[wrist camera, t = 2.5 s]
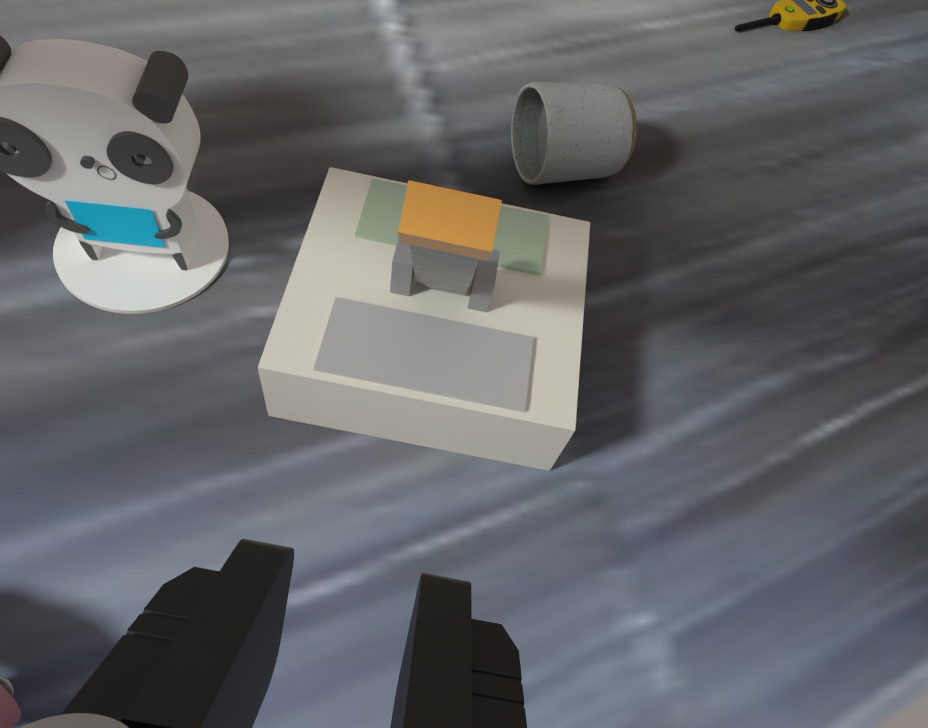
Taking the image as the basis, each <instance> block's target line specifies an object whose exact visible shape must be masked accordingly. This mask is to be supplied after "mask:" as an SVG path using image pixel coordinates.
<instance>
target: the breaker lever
mask: <svg viewBox="0 0 928 728" xmlns="http://www.w3.org/2000/svg"><path fill="white" fill-rule="evenodd" d="M501 203H502V200H499V199H495V198H490V197H485V196H480V195H476V194H471V193H466V192H462V191H457V190H452V189H447V188H443V187H438V186H433V185H428V184H424V183H419V182H414V181H410V180H408V185H407V190H406V194H405V199H404V204H403V209H402V214H401V219H400V224H399V229H398V235H399V239H400V243H405V244H409V245H410V251H411V257H412V262H413V268H414V274H415V280H416V285H418V286H423V287H428V288H433V289H438V290H442V291H447V292H452V293H457V294H462V295H465V294H466V292H467V289H468V287H469V284H470V281H471V279H472V276H473V274H474V271H475V269H476V266H477V264H478V261H479V259H482V260H487V261H488V259H489V256H490V254H491V252H492V248H493V243H494V238H495V233H496V228H497V223H498V218H499V213H500V208H501Z"/></svg>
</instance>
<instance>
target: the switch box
mask: <svg viewBox="0 0 928 728" xmlns="http://www.w3.org/2000/svg"><path fill="white" fill-rule="evenodd" d="M407 185H408V183H403V182H398V181H393V180H389V179H384V178H379V177H375V176H370V175H365V174H360V173H356V172H351V171H346V170H341V169H337V168H332V167H330V168H329V170H328V173H327V176H326V179H325V181H324V184H323V187H322V190H321V193H320V195H319V198H318V201H317V204H316V207H315V209H314V212H313V215H312V218H311V220H310V223H309V226H308V229H307V232H306V234H305V237H304V240H303V243H302V246H301V248H300V251H299V254H298V257H297V259H296V262H295V265H294V268H293V271H292V273H291V276H290V279H289V282H288V285H287V287H286V290H285V293H284V296H283V298H282V301H281V304H280V307H279V310H278V312H277V315H276V318H275V321H274V324H273V326H272V329H271V332H270V335H269V337H268V340H267V343H266V346H265V349H264V351H263V354H262V357H261V360H260V363H259V365H258V371H259V375H260V380H261V384H262V389H263V393H264V398H265V402H266V406H267V411H268V415H269V416H272V417H277V418H282V419H287V420H292V421H298V422H303V423H308V424H313V425H318V426H323V427H328V428H333V429H338V430H343V431H348V432H354V433H359V434H364V435H369V436H374V437H379V438H384V439H389V440H394V441H399V442H404V443H410V444H415V445H420V446H425V447H430V448H435V449H440V450H445V451H450V452H455V453H461V454H466V455H471V456H476V457H481V458H486V459H491V460H496V461H501V462H506V463H511V464H517V465H522V466H527V467H532V468H537V469H542V470H547V471H550V469H551V468H552V466H553V465H554V463H555V461H556V460H557V458H558V457H559V455H560V454H561V452H562V451H563V449H564V447H565V446H566V444H567V443H568V441H569V440H570V438H571V436H572V435H573V433H574V432H575V427H576V413H577V399H578V385H579V371H580V357H581V344H582V330H583V316H584V302H585V288H586V274H587V260H588V247H589V233H590V222H587V221H582V220H578V219H573V218H568V217H564V216H559V215H554V214H549V213H545V212H540V211H535V210H530V209H526V208H521V207H516V206H512V205H507V204H502V203H501V208H500V213H499V218H498V223H497V228H496V233H495V238H494V243H493V248H492V252H491V254H490V256H489V259H488V261H487V260H482V259H479V261H478V264H477V266H476V269H475V271H474V274H473V276H472V279H471V281H470V284H469V287H468V289H467V292H466V294H465V295H462V294H457V293H452V292H447V291H442V290H438V289H433V288H428V287H423V286H418V285H416V280H415V274H414V268H413V262H412V257H411V251H410V245H409V244H405V243H400V239H399V235H398V229H399V224H400V219H401V214H402V209H403V204H404V199H405V194H406V190H407Z"/></svg>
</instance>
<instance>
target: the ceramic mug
mask: <svg viewBox="0 0 928 728" xmlns="http://www.w3.org/2000/svg"><path fill="white" fill-rule="evenodd" d="M636 134H637V124H636V114H635V110H634V107H633V104H632V102H631V100H630V98H629V97H628V95H627V94H626V93H625V92H624V91H623V90H622V89H620V88H618V87H616V86H611V85H606V84H600V83H552V82H532V83H528V84H526V85H524V86H523V88H522V89H521V90H520V92H519V94H518V96H517V98H516V101H515V103H514V108H513V114H512V121H511V145H512V154H513V158H514V162H515V165H516V168H517V171H518V173H519V175H520V177H521V178H522V180H523V181H524V182H526V183H527V184H531V185H538V184H546V183H556V182H567V181H574V180H585V179H596V178H603V177H607V176H611V175H613V174H616V173H618V172H619V171H621V170H622V169H623V168H624V167H625V165H626V164H627V163H628V161H629V159H630V157H631V155H632V153H633V150H634V146H635V141H636Z"/></svg>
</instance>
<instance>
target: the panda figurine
mask: <svg viewBox="0 0 928 728" xmlns="http://www.w3.org/2000/svg"><path fill="white" fill-rule="evenodd" d="M187 80H188V71H187V68H186V66H185V64H184V63H183V61H182V60H181V59H180V58H179V57H178V56H176V55H174V54H172V53H169V52H165V51H156V52H153V53H152V54H151V56H150V58H149V60H148V62H147V61H145V60H144V59H142V58H140V57H138V56H135V55H133V54H131V53H128V52H125V51H122V50H119V49H116V48H112V47H108V46H104V45H99V44H94V43H89V42H84V41H77V40H65V39H45V40H35V41H30V42H27V43H24V44H22V45H20V46H19V47H17V48H16V49H15V50H14V51H13V52H12V53H11V48H10V46H9V44H8V43H7V41H6V40H5V39H4V38H2V37H1V36H0V171H1V172H4V173H6V174H8V175H9V176H10V177H11V178H13V179H14V180H15V181H17V182H18V183H20V184H21V185H23V186H24V187H26V188H28V189H29V190H31V191H33V192H35V193H37V194H38V195H40V196H42V197H44V198H46V199H49V200H51V201H48V203H47V205H46V207H45V214H46V216H47V217H48V219H50V220H51V221H52V222H53V223H55V224H56V225H58V226H60V227H61V228H60V230H59V232H58V234H57V236H56V239H55V243H54V248H53V260H54V265H55V268H56V271H57V273H58V275H59V277H60V279H61V281H62V282H63V284H64V285H65V286H66V288H67V289H68V290H69V291H70V292H71V293H72V294H74V295H75V296H76V297H77V298H79V299H80V300H82V301H83V302H85V303H87V304H89V305H91V306H94V307H96V308H99V309H102V310H106V311H110V312H116V313H126V314H140V313H150V312H156V311H160V310H165V309H168V308H171V307H174V306H176V305H179V304H181V303H183V302H185V301H188V300H189V299H191V298H193V297H194V296H196V295H198V294H199V293H200V292H202V291H203V290H204V289H205V288H207V287H208V286H209V285H210V284H211V283H212V282H213V281H214V280H215V278H216V277H217V276H218V274H219V273H220V271H221V270H222V268H223V266H224V264H225V261H226V258H227V255H228V250H229V238H228V233H227V229H226V226H225V223H224V221H223V219H222V217H221V215H220V214H219V213H218V211H217V210H216V209H215V208H214V207H213V206H212V205H211V204H210V203H209V202H207V201H206V200H205V199H203V198H202V197H200V196H199V195H197V194H195V193H193V192H190V191H188V190H187V187H186V186H187V183H188V180H189V177H190V174H191V171H192V168H193V165H194V162H195V159H196V156H197V153H198V150H199V146H200V139H201V136H200V129H199V125H198V122H197V119H196V117H195V115H194V112H193V110H192V108H191V107H190V105H189V103H188V101H187V100H186V98H185V97H184V95H183V94H182V93H183V90H184V88H185V85H186V82H187ZM55 204H56V205H55ZM58 209H59V211H60V212H61V214H62V215H63V216H62V215H60V214H59V213H58V211H57V210H58Z"/></svg>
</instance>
